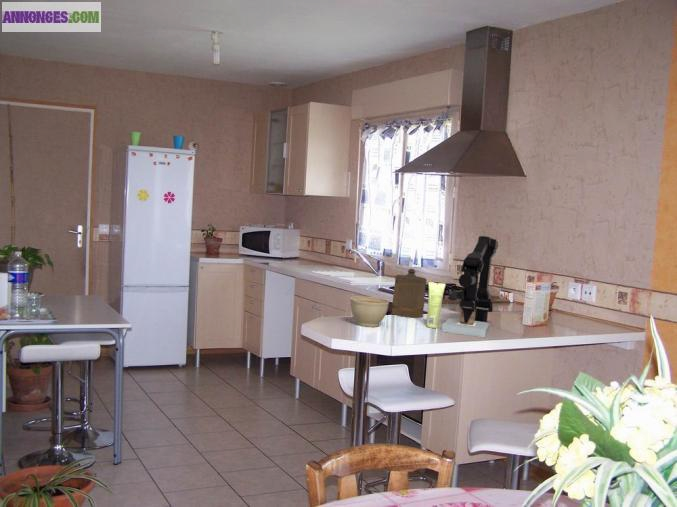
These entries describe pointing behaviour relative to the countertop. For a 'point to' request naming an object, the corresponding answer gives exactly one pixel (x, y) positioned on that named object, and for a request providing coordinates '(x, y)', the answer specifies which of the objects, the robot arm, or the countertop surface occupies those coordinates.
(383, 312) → the planter bowl
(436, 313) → the tube
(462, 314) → the cream rounded piece
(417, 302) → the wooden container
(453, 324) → the pale blue flat block
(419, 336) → the countertop surface
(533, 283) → the cracker box
